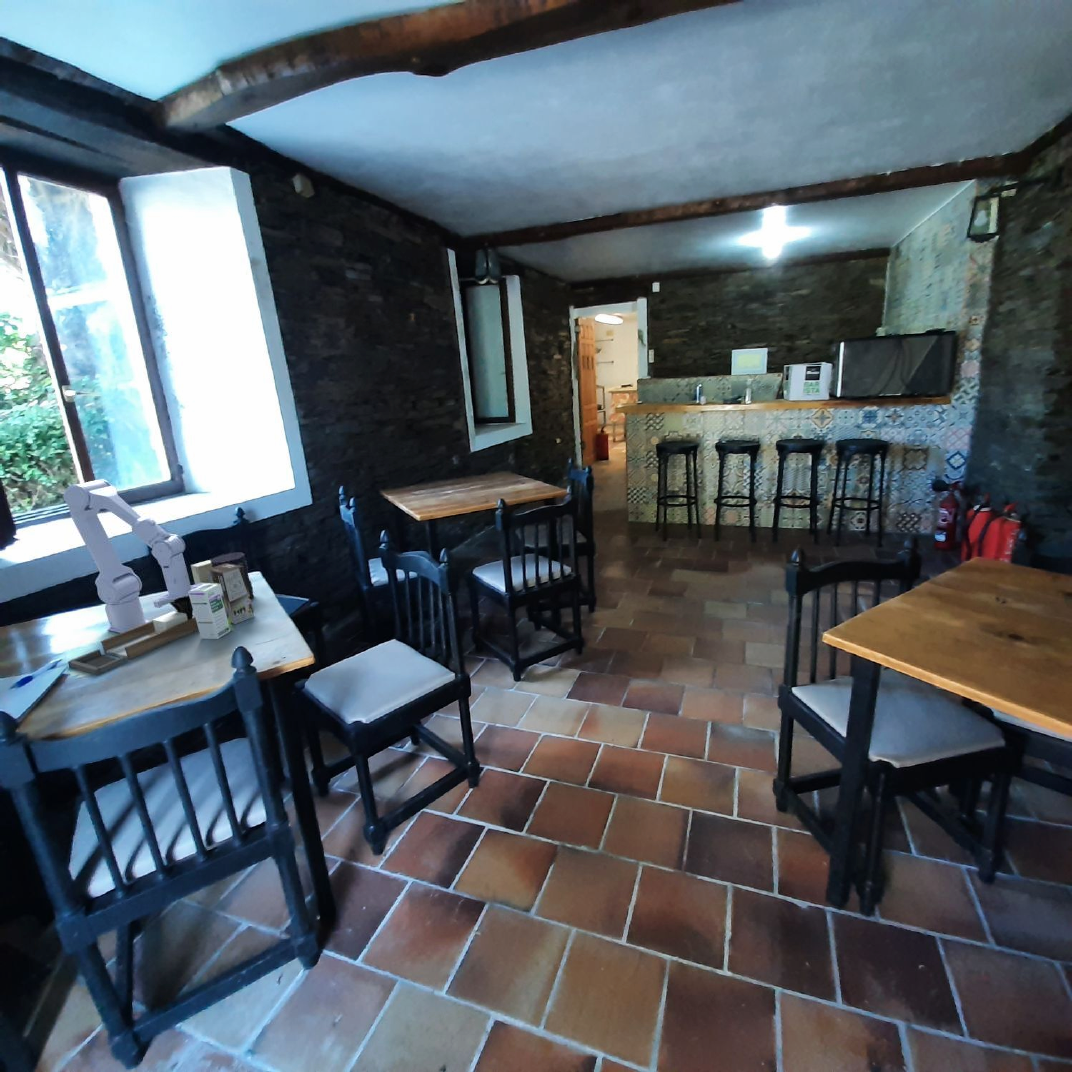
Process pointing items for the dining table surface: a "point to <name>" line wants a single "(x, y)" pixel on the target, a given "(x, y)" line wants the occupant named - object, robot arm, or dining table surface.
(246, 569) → the storage jar
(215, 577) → the coffee box
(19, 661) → the dining table surface
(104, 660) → the tray
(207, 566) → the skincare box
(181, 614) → the cream block
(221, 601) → the syrup box
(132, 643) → the walled channel
